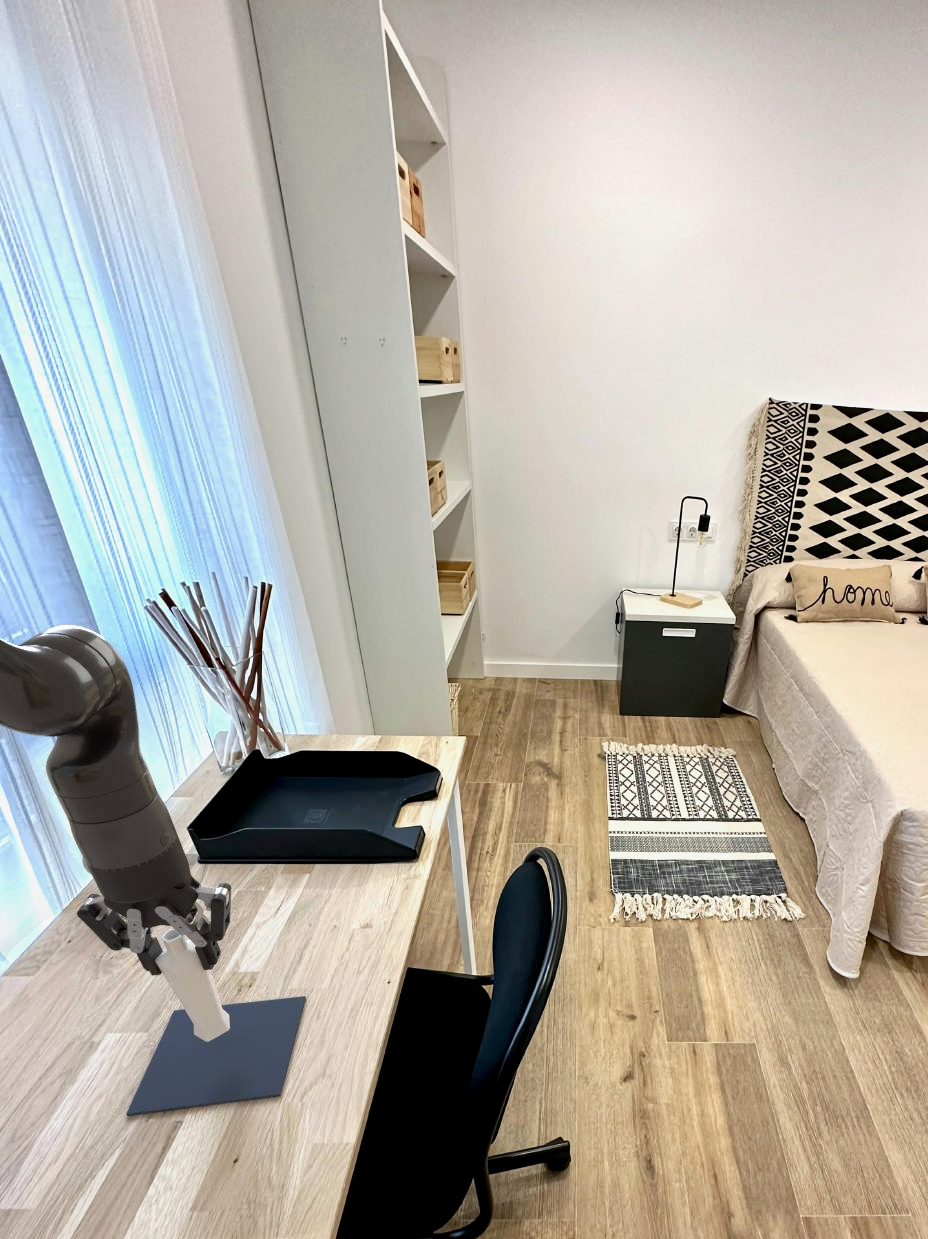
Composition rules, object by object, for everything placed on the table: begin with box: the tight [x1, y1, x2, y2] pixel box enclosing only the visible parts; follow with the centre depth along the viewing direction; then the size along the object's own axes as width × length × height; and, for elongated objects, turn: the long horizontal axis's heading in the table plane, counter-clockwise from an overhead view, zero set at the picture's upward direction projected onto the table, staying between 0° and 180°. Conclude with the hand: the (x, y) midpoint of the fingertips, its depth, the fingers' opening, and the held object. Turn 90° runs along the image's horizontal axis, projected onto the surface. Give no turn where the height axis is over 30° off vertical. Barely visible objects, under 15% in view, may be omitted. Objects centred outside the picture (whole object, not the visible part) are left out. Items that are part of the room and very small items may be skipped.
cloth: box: [125, 995, 307, 1117], centre depth 79 cm, size 16×14×1 cm
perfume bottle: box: [155, 928, 230, 1042], centre depth 72 cm, size 5×4×15 cm
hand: (185, 966), depth 71 cm, fingers closed on perfume bottle, 4 cm apart
